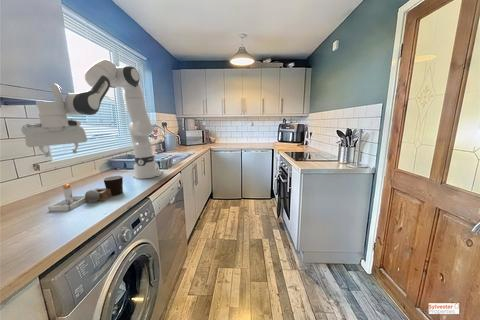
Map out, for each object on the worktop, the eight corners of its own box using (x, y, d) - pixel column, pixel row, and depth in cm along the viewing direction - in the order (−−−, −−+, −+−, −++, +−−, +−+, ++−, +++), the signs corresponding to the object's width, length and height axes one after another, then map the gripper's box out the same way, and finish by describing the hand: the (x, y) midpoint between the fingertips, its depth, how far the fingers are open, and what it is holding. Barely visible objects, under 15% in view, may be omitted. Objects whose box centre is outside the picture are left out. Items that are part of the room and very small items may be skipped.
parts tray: (72, 201, 103) (71, 196, 103) (90, 201, 104) (89, 195, 103) (49, 213, 91) (47, 206, 90) (70, 212, 91) (69, 205, 90)
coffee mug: (119, 199, 106) (116, 180, 104) (102, 199, 106) (99, 180, 104) (131, 191, 117) (129, 173, 116) (116, 191, 118) (113, 174, 116)
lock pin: (70, 204, 98) (66, 183, 97) (75, 204, 98) (71, 183, 96) (64, 206, 96) (60, 185, 94) (70, 206, 95) (66, 185, 94)
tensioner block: (97, 197, 108) (95, 184, 107) (113, 197, 108) (111, 183, 107) (84, 205, 98) (81, 191, 97) (101, 204, 98) (99, 190, 97)
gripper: (19, 124, 81) (27, 159, 84) (84, 121, 94) (89, 152, 96) (21, 124, 86) (29, 157, 89) (83, 121, 99) (88, 151, 101)
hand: (61, 154), depth 93 cm, fingers open, 8 cm apart
